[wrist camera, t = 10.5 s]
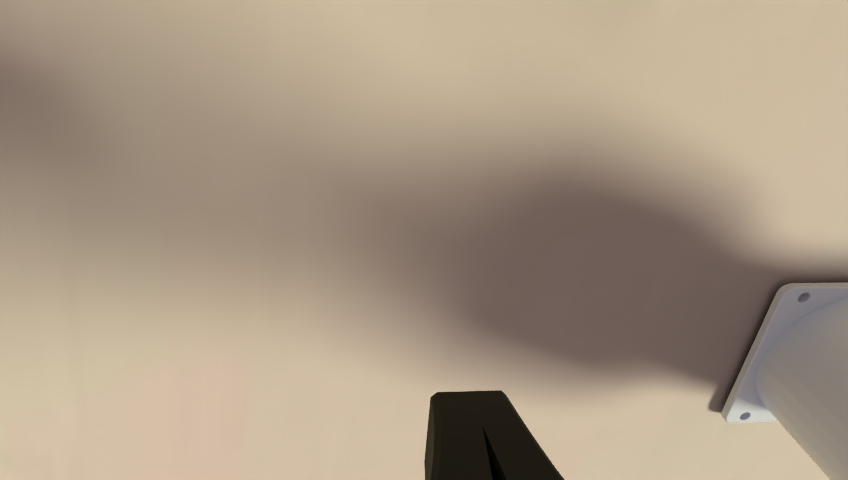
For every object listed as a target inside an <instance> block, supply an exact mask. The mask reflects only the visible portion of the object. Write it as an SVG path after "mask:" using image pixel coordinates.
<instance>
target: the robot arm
mask: <svg viewBox="0 0 848 480" xmlns="http://www.w3.org/2000/svg"><path fill="white" fill-rule="evenodd" d="M721 415H722V417H723V418H724V420H725V421H726V422H728V423H748V422H769V421H779V422H780V423H781V425H782V426H783V427H784V428H785V429H786V430H787V431H788V432H789V434H790V435H791V436H792V437H793V438H794V439H795V440H796V442H797V443H798V444H799V445H800V446H801V447H802V448H803V449H804V451H805V452H806V453H807V454H808V455H809V456H810V457H811V458H812V460H813V461H814V462H815V463H816V464H817V465H818V466H819V467H820V469H821V470H822V471H823V472H824V473H825V474H826V475H827V477H828V478H829V479H830V480H848V282H844V283H791V284H786V285H784V286H782V287H781V288H780V289H779V290H778V291H777V293H776V295H775V297H774V299H773V301H772V304H771V306H770V308H769V310H768V312H767V314H766V317H765V319H764V321H763V323H762V325H761V327H760V330H759V332H758V334H757V336H756V338H755V340H754V343H753V345H752V347H751V349H750V351H749V353H748V356H747V358H746V360H745V362H744V364H743V366H742V369H741V371H740V373H739V375H738V377H737V379H736V382H735V384H734V386H733V388H732V390H731V392H730V395H729V397H728V399H727V401H726V403H725V406H724V408H723V410H722V413H721ZM425 480H564V479H563V477H562V476H561V475H560V473H559V472H558V471H557V469H556V468H555V467H554V465H553V464H552V463H551V461H550V460H549V458H548V457H547V456H546V454H545V453H544V451H543V450H542V448H541V447H540V446H539V444H538V443H537V441H536V440H535V438H534V437H533V436H532V434H531V433H530V431H529V430H528V428H527V427H526V425H525V424H524V422H523V421H522V419H521V418H520V416H519V415H518V413H517V411H516V410H515V408H514V407H513V405H512V404H511V402H510V401H509V399H508V397H507V396H506V395H505V394H504V393H503V392H502V391H468V392H437V393H436V394H434V395H433V396H432V397H431V399H430V410H429V420H428V431H427V441H426V452H425Z"/></svg>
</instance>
